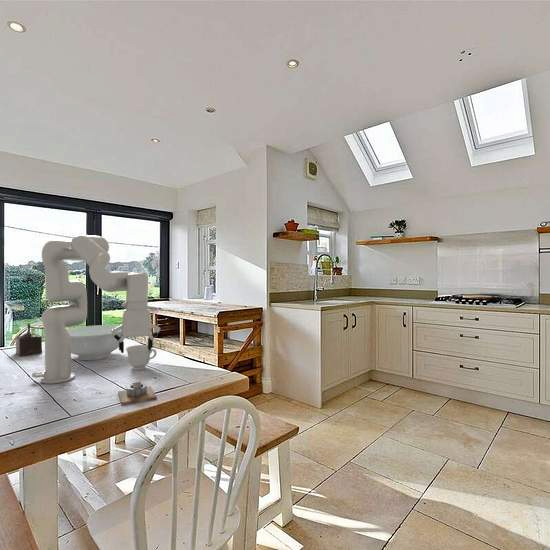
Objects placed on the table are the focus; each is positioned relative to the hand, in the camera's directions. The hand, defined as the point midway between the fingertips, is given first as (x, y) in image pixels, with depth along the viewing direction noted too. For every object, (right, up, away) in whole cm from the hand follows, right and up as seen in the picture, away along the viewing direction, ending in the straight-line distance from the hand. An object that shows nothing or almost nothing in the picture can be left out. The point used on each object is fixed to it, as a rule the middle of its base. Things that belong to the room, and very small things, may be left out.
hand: (136, 350), depth 131 cm
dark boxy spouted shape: (-82, -15, +62) cm, 104 cm away
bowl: (-44, -16, +55) cm, 73 cm away
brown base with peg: (0, -17, 0) cm, 17 cm away
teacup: (-11, -16, +35) cm, 40 cm away
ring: (0, -16, 0) cm, 16 cm away
